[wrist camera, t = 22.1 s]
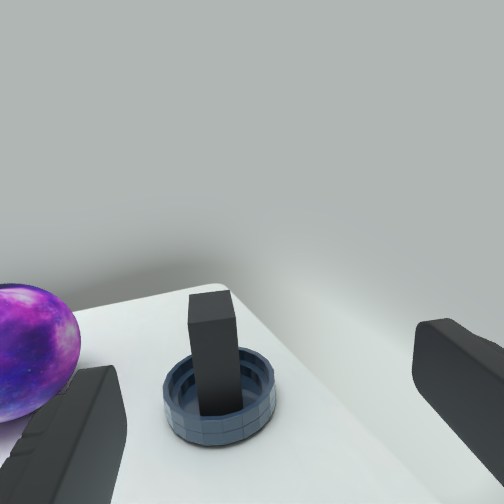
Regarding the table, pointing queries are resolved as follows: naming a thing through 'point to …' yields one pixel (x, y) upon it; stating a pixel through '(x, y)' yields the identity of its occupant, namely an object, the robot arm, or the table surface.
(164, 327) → the table surface
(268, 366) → the bowl
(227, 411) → the dark grey upright block
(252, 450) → the table surface
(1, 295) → the decorative orb
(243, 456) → the table surface
